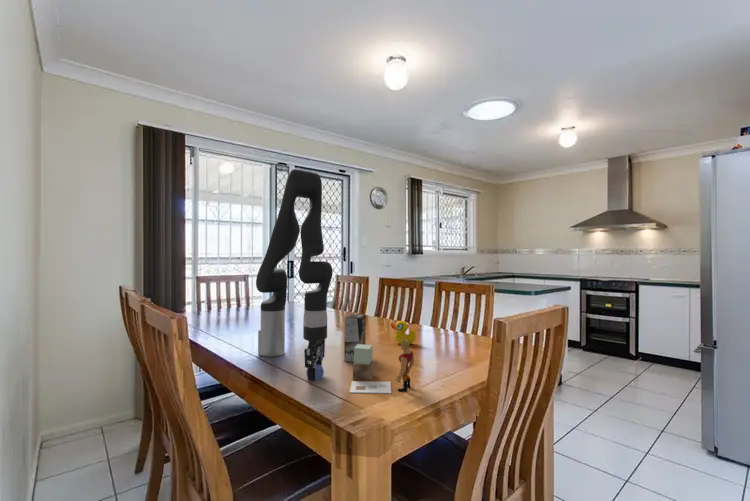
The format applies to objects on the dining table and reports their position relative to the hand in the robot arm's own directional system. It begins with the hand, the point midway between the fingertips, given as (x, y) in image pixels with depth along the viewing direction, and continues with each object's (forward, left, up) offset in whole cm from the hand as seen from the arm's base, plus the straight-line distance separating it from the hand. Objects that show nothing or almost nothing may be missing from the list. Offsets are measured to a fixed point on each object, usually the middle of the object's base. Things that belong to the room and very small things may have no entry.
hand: (314, 376), depth 123 cm
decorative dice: (0, 0, -1) cm, 1 cm away
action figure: (+29, -4, -1) cm, 29 cm away
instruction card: (+19, -5, -1) cm, 20 cm away
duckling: (+24, +50, -1) cm, 55 cm away
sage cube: (+15, +4, +4) cm, 16 cm away
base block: (+15, +4, -1) cm, 16 cm away
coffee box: (+8, +24, -1) cm, 25 cm away
